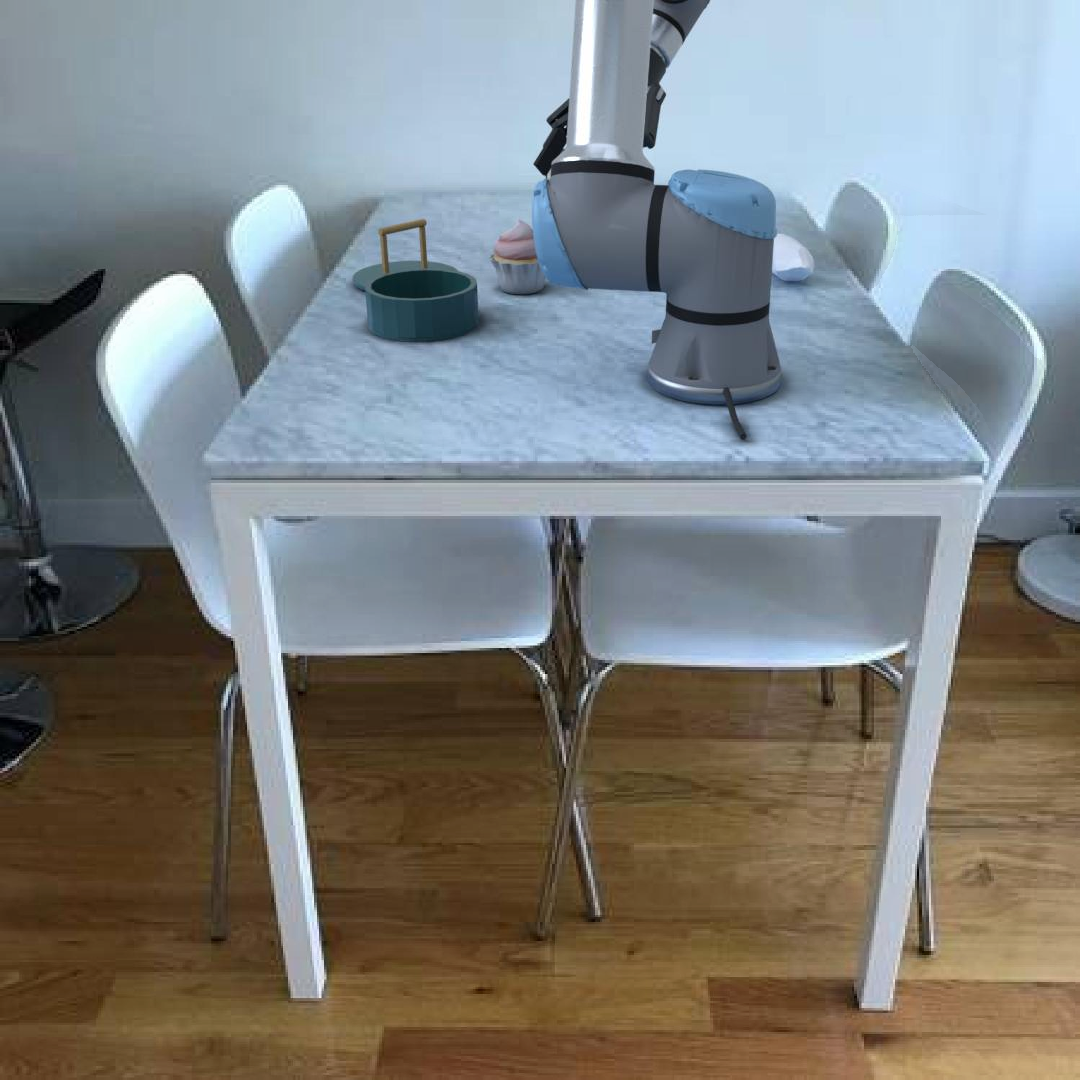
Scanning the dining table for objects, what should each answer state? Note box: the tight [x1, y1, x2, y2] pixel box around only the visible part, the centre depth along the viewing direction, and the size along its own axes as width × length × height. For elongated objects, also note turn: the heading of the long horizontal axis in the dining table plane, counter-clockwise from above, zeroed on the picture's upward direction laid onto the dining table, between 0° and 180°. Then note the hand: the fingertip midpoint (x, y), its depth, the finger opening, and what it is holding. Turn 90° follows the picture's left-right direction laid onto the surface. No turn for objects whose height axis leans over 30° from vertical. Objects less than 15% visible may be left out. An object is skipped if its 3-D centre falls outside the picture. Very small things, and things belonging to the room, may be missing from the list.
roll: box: [772, 233, 815, 282], centre depth 178 cm, size 6×12×6 cm, turn 7°
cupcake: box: [488, 218, 547, 295], centre depth 176 cm, size 9×9×10 cm
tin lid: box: [352, 218, 459, 291], centre depth 179 cm, size 16×16×9 cm
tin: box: [364, 268, 480, 343], centre depth 163 cm, size 15×15×6 cm
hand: (571, 176), depth 177 cm, fingers open, 13 cm apart
